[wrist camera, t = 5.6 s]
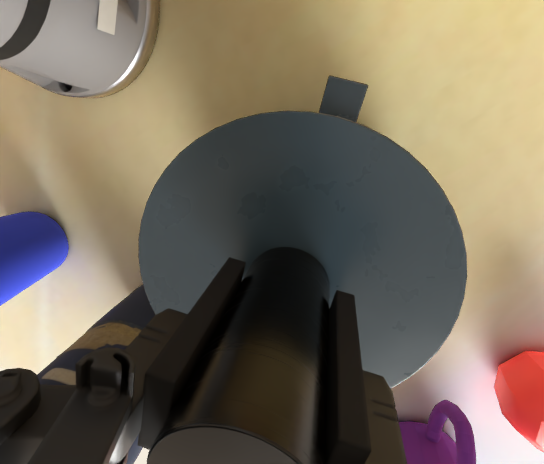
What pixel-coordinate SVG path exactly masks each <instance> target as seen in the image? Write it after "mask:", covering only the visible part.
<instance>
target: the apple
mask: <svg viewBox="0 0 544 464" xmlns="http://www.w3.org/2000/svg"><path fill="white" fill-rule="evenodd" d="M494 388H495V391H496V395H497V398H498V401H499V405H500V408H501V411H502V414H503V415H504V416H505V418H506V419H507V420H508V421H509V422H510V423H511V425H512V426H513V427H514V428H515V429H516V430H517V431H518V432H519V433H520V434H521V435H522V436H524V437H525V438H526V439H527V440H528V441H529V442H530V443H531V444H532V445H534V446H535V447H536V448H537V449H539V450H540V451H542V452H544V352H534V351H524V352H522V353H520V354H518V355H517V356H515V357H513V358H511V359H509V360H508V361H506V362H504V363H502V364H500V365H499V366H498V371H497V376H496V380H495V385H494Z"/></svg>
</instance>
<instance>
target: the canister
mask: <svg viewBox="0 0 544 464" xmlns="http://www.w3.org/2000/svg"><path fill="white" fill-rule="evenodd" d="M154 316H155V313H154V311H153V309H152V307H151V305H150V302H149V300H148V297H147V294H146V292H145V289H144V285H141V286H140V287H138V288H137V289H136V290H134V291H133V292H132V293H131V294H130V295H129V296H128V297H126V298H125V299H124V300H123V301H121V302H120V303H119V304H118V305H116V306H115V307H114V308H113V309H111V310H110V311H109V312H108V313H107V314H106V315H104V316H103V317H102V318H101V319H100V320H99V321H97V322H96V323H95V324H94V325H93V326H92V327H91V328H89V329H88V330H87V332H86V333H85V334H84V335H83V336H82V337H80V338H79V339H78V340H77V341H76V342H75V343H74V344H73V345H71V346H70V347H69V348H68V349H67V350H65V351H64V352H63V353H62V354H60V355H59V356H58V357H57V358H56V359H55V360H54V361H53V362H52V363H50V364H49V365H48V366H47V367H46V368H45V369H44V370H42V371H41V372H40V373H39V374H38V379H39V382H40V384H42V385H76V363H77V362H78V361H79V360H80V359H81V358H82V357H83V356H85V355H87V354H88V353H90V352H92V351H94V350H98V349H102V348H106V347H109V348H120V349H123V350H125V349H126V348H127V346H128V345H129V344H130V343H131V342H132V341H133V340H134V339H135V337H136V336H138V335H139V333H140V332H141V331H142V330H143V328H144V327H146V325H147V324H148V323H149V322H150V321H151V319H152V318H153V317H154ZM138 436H139V434H138ZM138 436H137V437H136V439H135V441H134V442H133V444H132V446H131V447H130V449H129V451H128V458H127V463H126V464H133V463H134V462H135V460H136V459H137V457H138V455H139V453H140V451H141V450H142V448H143V447H141V446H138Z"/></svg>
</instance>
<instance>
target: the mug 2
mask: <svg viewBox="0 0 544 464" xmlns="http://www.w3.org/2000/svg"><path fill="white" fill-rule="evenodd" d="M447 418H449V419H450V421H451V422H452V424H453V426H454V430H455V435H456V443H455V442H454V441H453V440H452V439H451V438H450V437H449V436H448V435H447V434H446V433H444V432H443V431H442V429H443V426H444V423H445V421H446V420H447ZM399 426H400V431H401V436H402V441H403V446H404V450H405V455H406V460H407V464H476V452H475V443H474V435H473V432H472V428H471V424H470V423H469V421H468V419H467V418H466V416H465V414H464V413H463V412H462V411H461V410H460V408H459V407H458V406H457V405H455V404H453V403H452V402H450V401H448V400H443V401H441V402H439V403H438V404H436V405H435V407H434V409H433V410H432V412H431V414H430V417H429V420H428V423H427V424H425V423H419V422H413V421H408V422H399Z"/></svg>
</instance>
